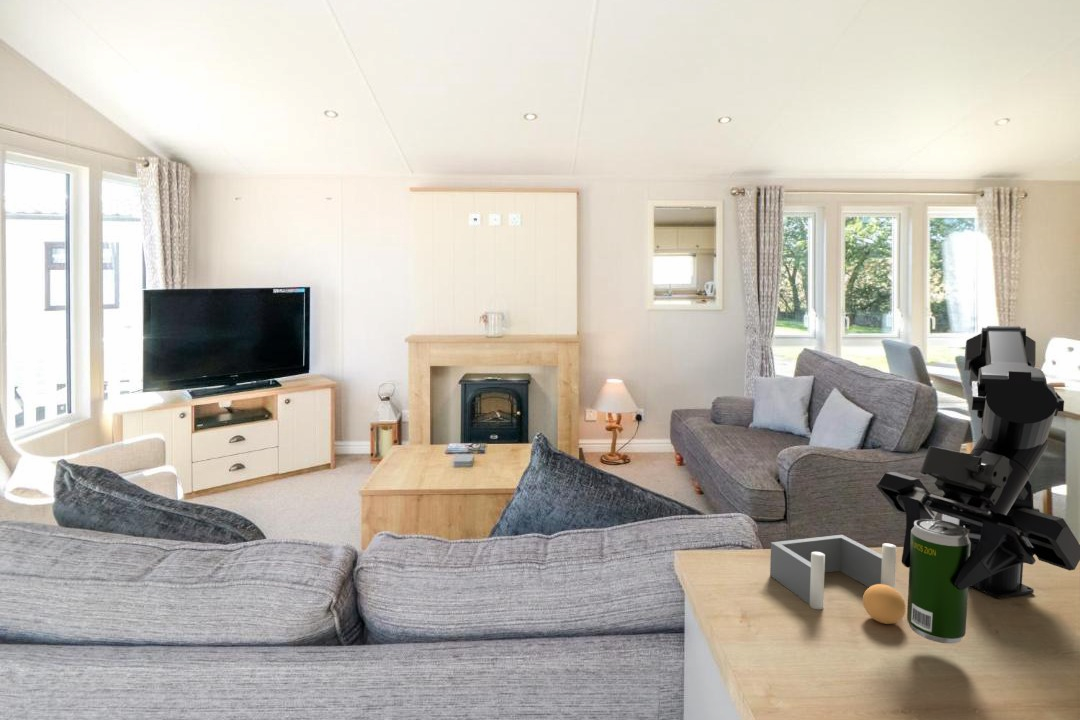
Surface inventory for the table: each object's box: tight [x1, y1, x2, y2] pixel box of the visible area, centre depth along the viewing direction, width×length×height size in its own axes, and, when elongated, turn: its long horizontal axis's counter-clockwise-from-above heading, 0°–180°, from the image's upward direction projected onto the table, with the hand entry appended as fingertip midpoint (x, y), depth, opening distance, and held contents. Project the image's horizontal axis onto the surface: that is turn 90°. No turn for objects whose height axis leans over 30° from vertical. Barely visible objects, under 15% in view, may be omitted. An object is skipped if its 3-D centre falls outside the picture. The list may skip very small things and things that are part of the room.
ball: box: [862, 584, 906, 625], centre depth 70 cm, size 4×4×4 cm
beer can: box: [906, 518, 971, 645], centre depth 63 cm, size 5×5×12 cm
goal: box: [769, 534, 897, 610], centre depth 79 cm, size 13×10×7 cm
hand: (929, 575), depth 62 cm, fingers closed on beer can, 5 cm apart
